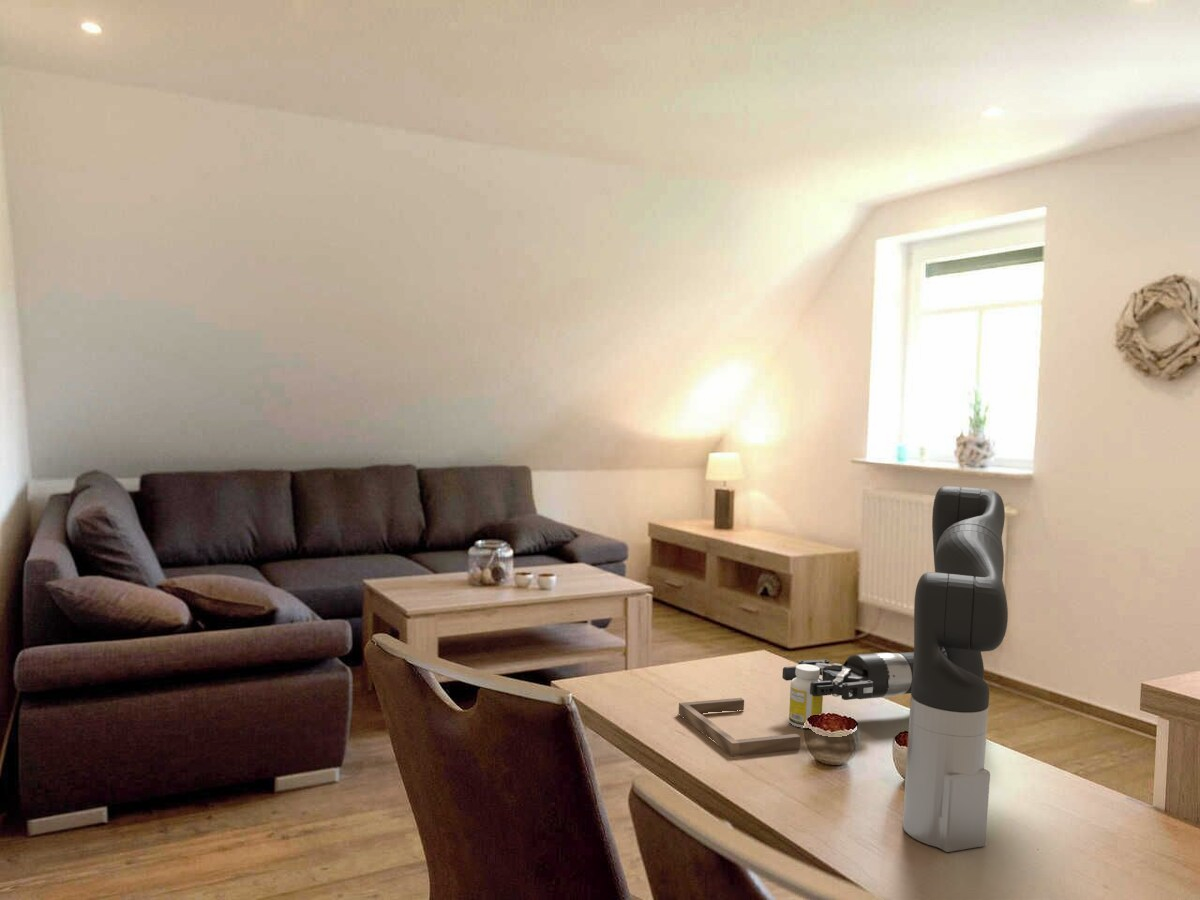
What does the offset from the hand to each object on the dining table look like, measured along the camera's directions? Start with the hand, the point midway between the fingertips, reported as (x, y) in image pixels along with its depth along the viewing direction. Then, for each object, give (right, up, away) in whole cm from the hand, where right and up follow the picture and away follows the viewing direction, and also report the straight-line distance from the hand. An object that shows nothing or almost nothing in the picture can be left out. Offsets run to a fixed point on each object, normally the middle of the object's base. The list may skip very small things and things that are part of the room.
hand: (797, 681), depth 155 cm
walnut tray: (-11, -7, -3) cm, 13 cm away
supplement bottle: (+1, -8, +1) cm, 8 cm away
